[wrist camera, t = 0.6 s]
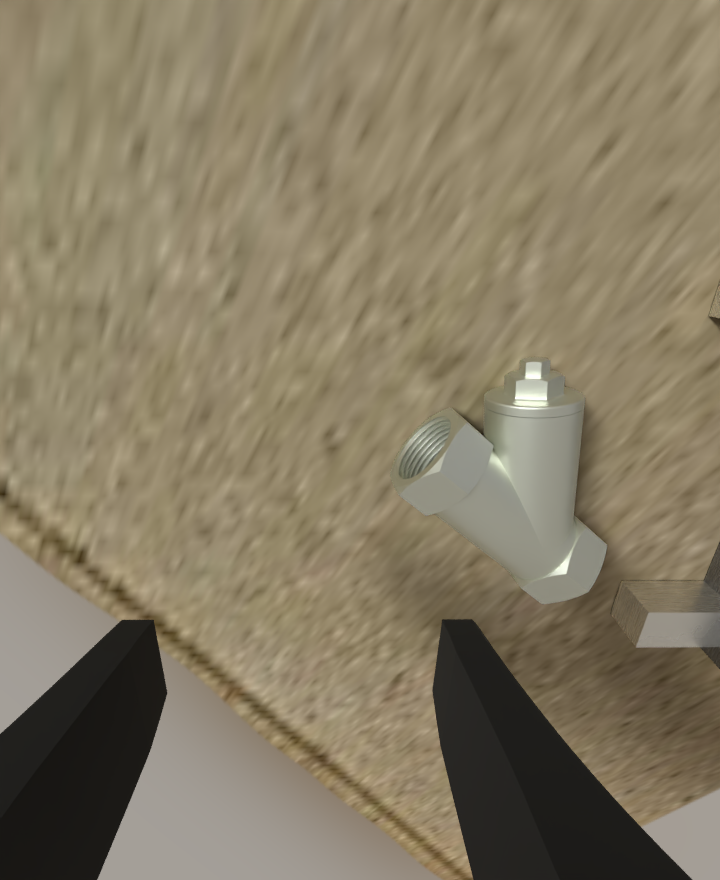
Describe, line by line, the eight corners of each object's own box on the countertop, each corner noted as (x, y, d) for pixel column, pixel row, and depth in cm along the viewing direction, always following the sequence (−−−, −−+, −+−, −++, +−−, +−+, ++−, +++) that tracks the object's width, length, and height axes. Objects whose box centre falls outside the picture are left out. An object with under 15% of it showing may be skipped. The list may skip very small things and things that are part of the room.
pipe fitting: (502, 330, 17) (383, 460, 18) (554, 343, 13) (400, 506, 14) (627, 454, 19) (514, 562, 20) (702, 495, 15) (557, 624, 17)
